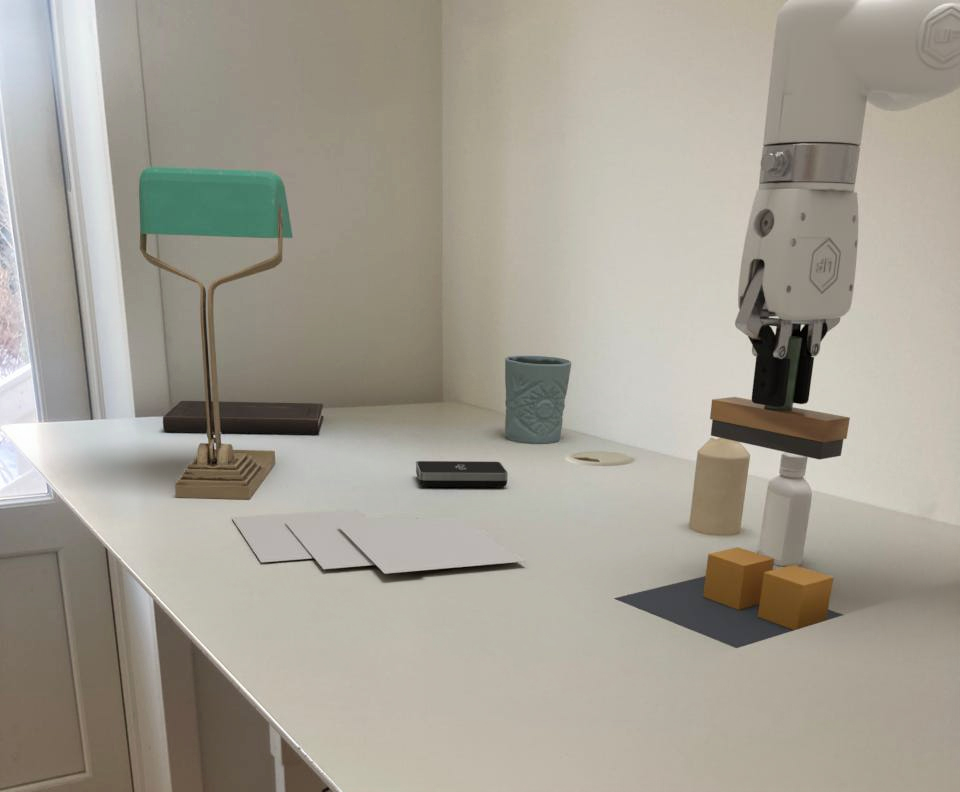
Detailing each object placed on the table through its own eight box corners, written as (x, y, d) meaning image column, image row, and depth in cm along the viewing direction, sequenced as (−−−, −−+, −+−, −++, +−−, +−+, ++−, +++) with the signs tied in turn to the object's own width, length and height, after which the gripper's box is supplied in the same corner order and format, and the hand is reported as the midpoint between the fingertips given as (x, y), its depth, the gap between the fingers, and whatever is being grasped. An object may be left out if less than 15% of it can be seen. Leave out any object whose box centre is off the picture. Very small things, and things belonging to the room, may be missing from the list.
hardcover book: (181, 414, 168) (180, 400, 167) (323, 417, 171) (323, 403, 170) (163, 432, 154) (162, 417, 153) (318, 435, 156) (318, 420, 155)
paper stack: (279, 590, 89) (279, 582, 88) (231, 517, 110) (231, 511, 110) (525, 567, 97) (526, 560, 97) (436, 504, 118) (436, 498, 118)
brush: (730, 432, 96) (742, 329, 93) (843, 456, 87) (862, 343, 84) (707, 435, 95) (719, 330, 91) (820, 460, 86) (838, 345, 82)
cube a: (786, 608, 88) (793, 564, 87) (826, 622, 86) (834, 577, 84) (757, 617, 86) (763, 571, 85) (796, 631, 83) (804, 585, 82)
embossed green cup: (517, 430, 166) (521, 353, 161) (576, 437, 162) (581, 359, 157) (490, 439, 157) (493, 359, 153) (551, 447, 153) (556, 365, 149)
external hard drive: (415, 476, 132) (415, 460, 131) (500, 476, 134) (501, 461, 133) (419, 488, 126) (419, 472, 125) (508, 489, 127) (509, 473, 126)
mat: (719, 574, 98) (719, 572, 98) (889, 632, 84) (889, 630, 84) (613, 600, 90) (613, 598, 90) (782, 668, 76) (783, 666, 76)
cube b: (732, 589, 93) (737, 546, 91) (768, 601, 90) (774, 558, 88) (702, 597, 91) (708, 553, 89) (738, 610, 88) (744, 565, 86)
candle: (730, 540, 109) (742, 446, 105) (681, 531, 112) (691, 439, 108) (746, 529, 113) (758, 438, 110) (699, 520, 116) (709, 432, 112)
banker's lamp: (143, 496, 118) (113, 160, 105) (185, 459, 137) (164, 172, 124) (281, 499, 118) (268, 166, 105) (304, 462, 138) (295, 177, 125)
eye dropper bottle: (754, 564, 101) (771, 443, 96) (758, 549, 106) (775, 433, 101) (800, 570, 100) (820, 447, 95) (802, 555, 105) (821, 437, 100)
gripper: (782, 165, 76) (753, 417, 82) (906, 175, 85) (871, 402, 91) (704, 169, 81) (683, 404, 88) (829, 178, 90) (801, 391, 97)
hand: (779, 401), depth 90 cm, fingers closed on brush, 2 cm apart
